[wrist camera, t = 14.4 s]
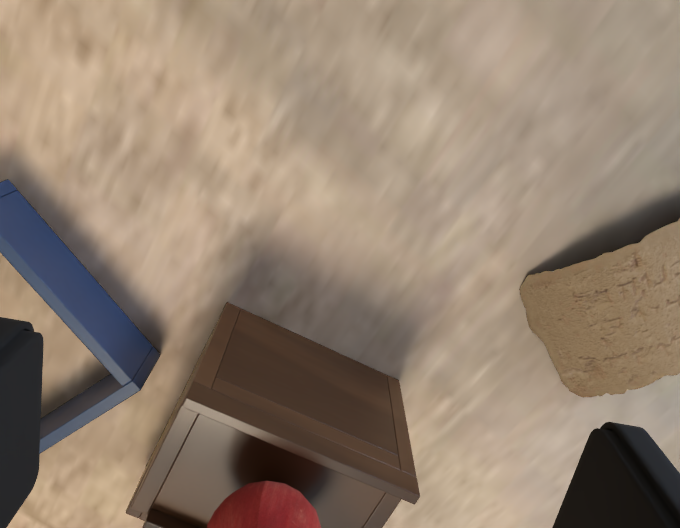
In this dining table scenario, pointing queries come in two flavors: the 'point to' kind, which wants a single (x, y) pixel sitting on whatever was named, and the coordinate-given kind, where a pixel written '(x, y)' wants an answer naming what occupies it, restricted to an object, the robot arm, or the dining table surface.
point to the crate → (74, 315)
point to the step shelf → (279, 431)
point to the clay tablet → (611, 316)
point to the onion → (265, 508)
